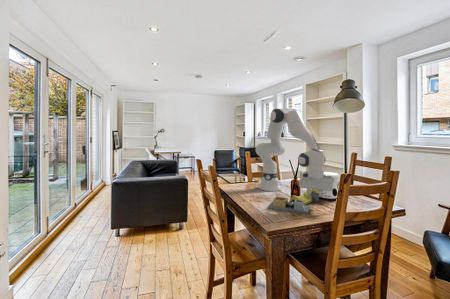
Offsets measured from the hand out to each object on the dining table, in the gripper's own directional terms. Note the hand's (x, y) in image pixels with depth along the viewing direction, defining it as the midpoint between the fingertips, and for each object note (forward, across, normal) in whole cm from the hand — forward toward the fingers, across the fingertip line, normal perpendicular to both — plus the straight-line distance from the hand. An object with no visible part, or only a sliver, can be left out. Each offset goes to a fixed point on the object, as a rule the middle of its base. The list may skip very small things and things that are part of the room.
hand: (314, 196), depth 152 cm
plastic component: (+9, +8, -12) cm, 17 cm away
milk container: (+9, -6, -31) cm, 32 cm away
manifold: (+8, +14, +6) cm, 18 cm away
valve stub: (+3, 0, 0) cm, 3 cm away
